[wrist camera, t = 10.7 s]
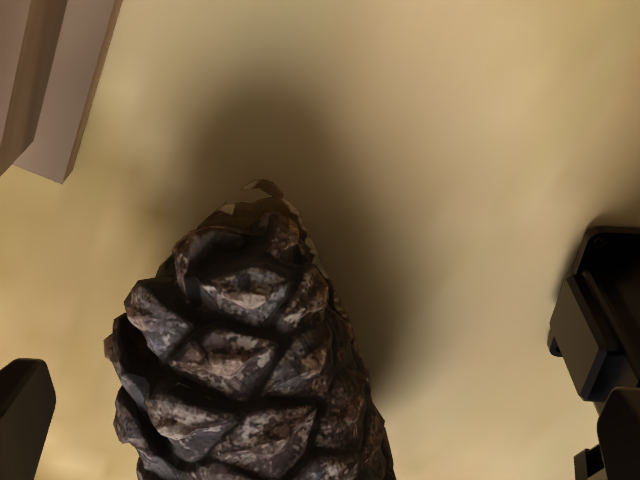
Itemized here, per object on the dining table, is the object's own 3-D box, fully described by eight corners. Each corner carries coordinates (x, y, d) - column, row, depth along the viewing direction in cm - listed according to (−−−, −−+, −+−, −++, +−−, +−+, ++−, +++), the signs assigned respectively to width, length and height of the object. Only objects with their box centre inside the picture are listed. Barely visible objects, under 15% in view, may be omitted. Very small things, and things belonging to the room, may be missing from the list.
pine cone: (314, 139, 22) (297, 339, 13) (411, 446, 31) (437, 672, 23) (53, 204, 24) (-102, 414, 15) (221, 475, 33) (182, 693, 25)
